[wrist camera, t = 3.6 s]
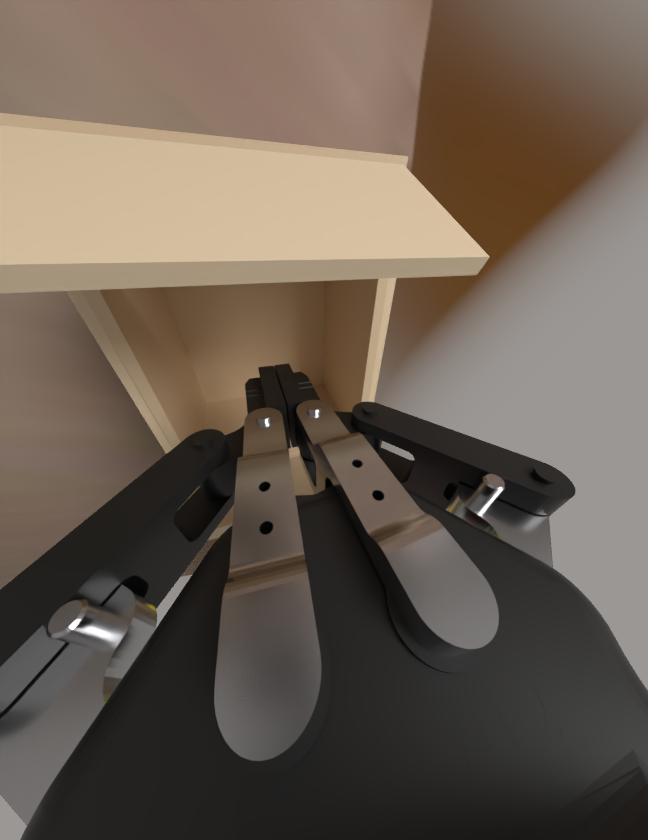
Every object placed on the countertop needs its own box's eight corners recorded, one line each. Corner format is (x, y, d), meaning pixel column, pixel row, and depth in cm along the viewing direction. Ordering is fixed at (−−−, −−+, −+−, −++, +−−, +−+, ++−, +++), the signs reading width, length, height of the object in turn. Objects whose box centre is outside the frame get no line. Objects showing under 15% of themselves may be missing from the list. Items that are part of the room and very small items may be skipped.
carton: (99, 173, 13) (-53, 107, 6) (339, 188, 17) (420, 157, 10) (196, 406, 24) (182, 483, 17) (331, 385, 27) (368, 441, 20)
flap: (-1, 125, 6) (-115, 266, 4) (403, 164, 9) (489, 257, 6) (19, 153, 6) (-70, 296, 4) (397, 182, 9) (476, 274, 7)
